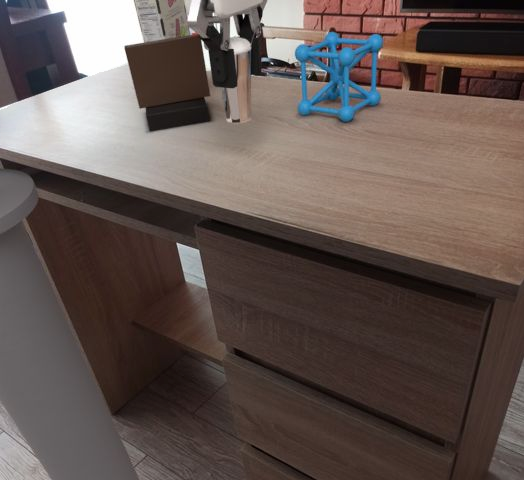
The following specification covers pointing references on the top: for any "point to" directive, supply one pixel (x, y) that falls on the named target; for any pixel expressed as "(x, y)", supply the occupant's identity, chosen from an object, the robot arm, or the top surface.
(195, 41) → the frame
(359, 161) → the top surface
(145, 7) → the candy bar box
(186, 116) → the frame stand
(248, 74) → the milkshake
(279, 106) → the top surface
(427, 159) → the top surface
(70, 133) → the top surface
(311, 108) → the molecular structure
